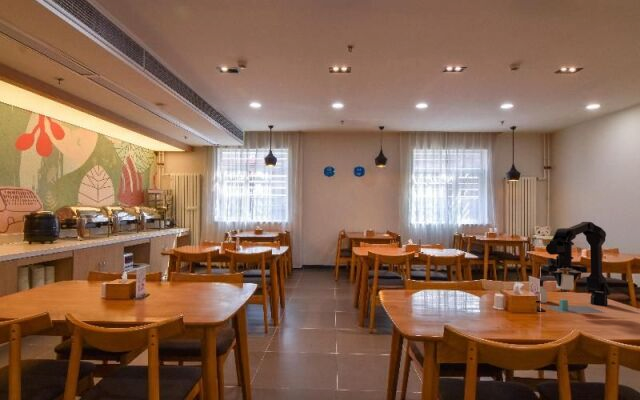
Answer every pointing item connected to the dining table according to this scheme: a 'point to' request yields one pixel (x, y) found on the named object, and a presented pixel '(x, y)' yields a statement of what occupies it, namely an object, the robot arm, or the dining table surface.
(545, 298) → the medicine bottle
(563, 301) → the post
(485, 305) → the dining table surface
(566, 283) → the white rectangular block
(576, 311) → the board
